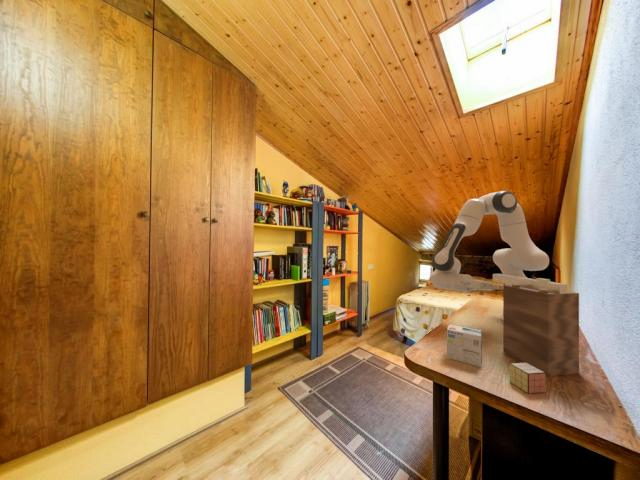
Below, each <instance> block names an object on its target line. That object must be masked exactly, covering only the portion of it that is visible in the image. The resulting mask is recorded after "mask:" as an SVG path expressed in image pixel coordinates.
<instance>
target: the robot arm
mask: <svg viewBox="0 0 640 480" xmlns="http://www.w3.org/2000/svg"><path fill="white" fill-rule="evenodd" d="M485 215H496V216H497V221H498V222H497V223H498V228H499V233H500V238H501V240H502V241H503V242H505V243H507V244H508V245H509V246H510V248H509V247H508V248H507V247H506V248H501V249H496V250H495V252H494V253H493V255H492V260H493V263H494V264H495V265H496V266H497V267H498V268H499V270H500V271H501V274H504V275H510V276H517V277H523V278H528V277H527V276H526V275H525V273H524V271H529V272H533V271H534V272H536V271H537V272H538V271H544V270H545V269H547V268H548V266H549V265H550V257H549V255H548V254H547V253H546V252H545V251H543V250H541V249H540V248H539V247H538V246H536V245H535V243H534V242H533V240H532V239H531V237H530V235H529V231H528V227H527V222H526V221H527V220H526V217H525V213H524V211H523V209H522V207H521V205H520V203H518V199H517V197H516V196H515V194H514V193H513V192H511V191H509V190H501V191H496V192H490V193H487V194H485V195H481V196H477V197H476V198H470V199H467V201H466V202H465V203H464V204H463V206H462V207H461V209H460V211H459V213H458V215H457V218H456V219H455V222H454V223H453V225H452V226H451V228H450V229H449V231H448V233H447V235H446V237H445V239H444V241H443V242H442V244H441V246H440V248H439V249H438V250H437V251H436V252H435V253H434V254H433V255H432V257H431V264H432V266H433V268H434V269H435V270H434V271H433V272H431V273H430V276H429V277H430V282H431V285H433V286H434V288H437V289H440V290H447V291H451V290H452V291H456V292H460V293H466V294H469V293H472V292H473V291H493V290H499V291H501V290H502V291H503V285H498V284H494V283H493V282H489V281H485V280H479V279H477V278H474V277H473V276H471V275H470V274H463V273H461V269H462V264H461V261H460V260H459V259H458V258H457V257H456V256H455V252H456V249H457V248H458V246H459V244H460V242H461V240H462V239H463V238H464V237H469V236H472V235H474V234H476V232H477V231H478V230H479V227H480V226H481V223H482V221H483V218H484V216H485ZM504 285H511V284H506V283H504ZM500 316H501V317H500V319H501V321H503V313H502V314H501V315H500Z"/></svg>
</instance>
